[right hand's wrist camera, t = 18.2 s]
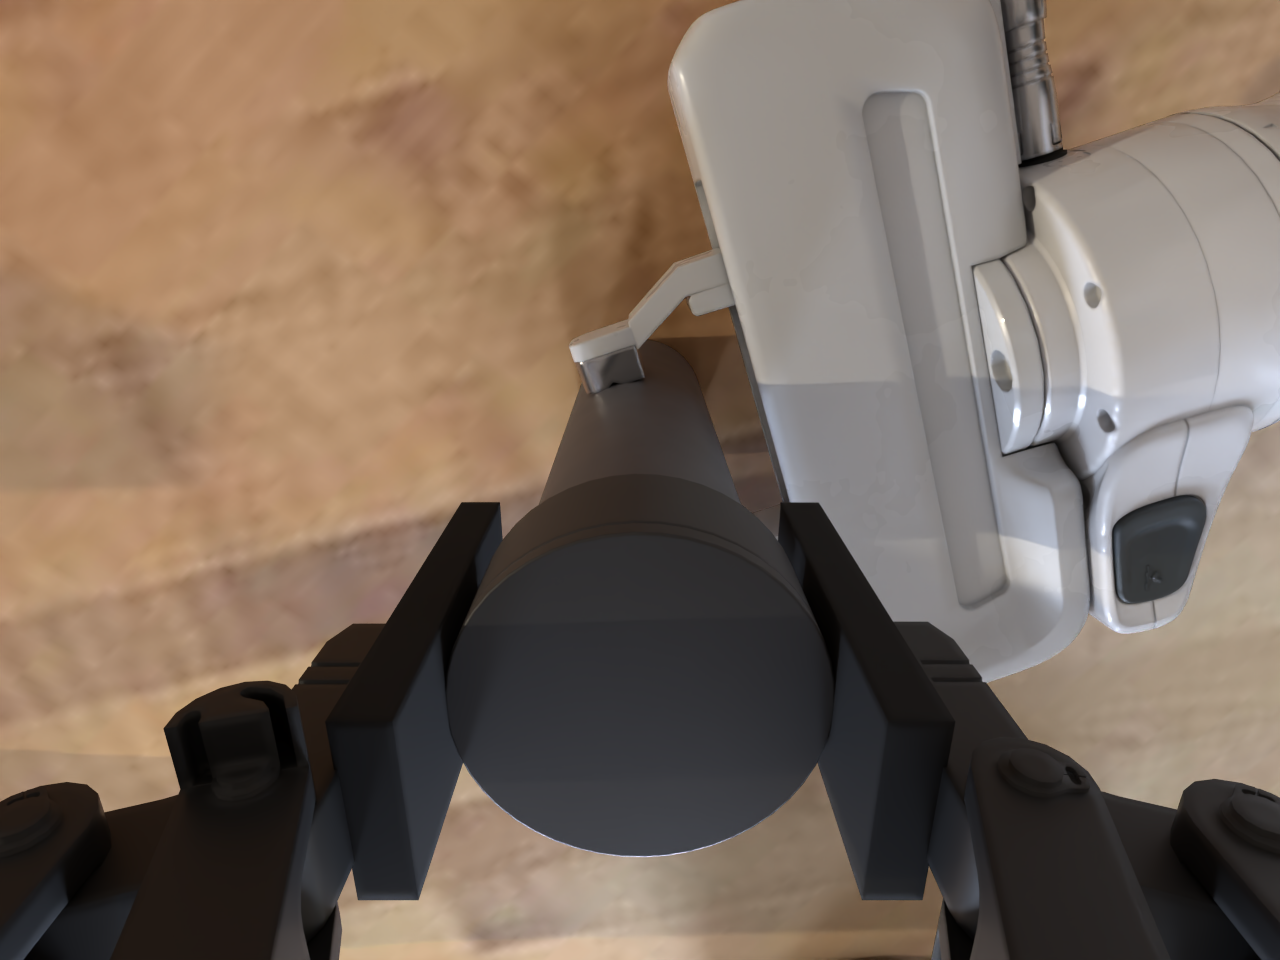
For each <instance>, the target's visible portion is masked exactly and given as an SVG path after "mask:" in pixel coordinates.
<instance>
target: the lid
mask: <svg viewBox="0 0 1280 960" xmlns="http://www.w3.org/2000/svg"><path fill="white" fill-rule="evenodd" d="M445 691H446V701H447V710H448V719H449V727H450V732H451V736H452V739H453V741H454V744H455V746H456V749H457V751H458V754H459V756H460V758H461V759H462V761H463V763H464V765H465V766H466V768H467V770H468V772H469V773H470V775H471V776H472V777H473V779H474V780H475V781H476V783H477V784H478V785H479V786H480V788H481V789H482V790H483V791H484V792H485V793H486V794H487V795H488V796H489V797H490V798H491V799H492V800H493V801H494V802H495V803H496V804H497V805H498V806H499V807H500V808H501V809H503V810H504V811H505V812H506V813H508V814H509V815H510V816H512V817H513V818H514V819H515V820H517V821H519V822H520V823H522V824H524V825H525V826H527V827H528V828H530V829H532V830H533V831H535V832H537V833H539V834H542V835H544V836H546V837H548V838H550V839H552V840H554V841H557V842H560V843H563V844H566V845H569V846H572V847H575V848H578V849H582V850H587V851H591V852H595V853H600V854H608V855H616V856H628V857H652V856H666V855H673V854H679V853H685V852H690V851H694V850H698V849H701V848H705V847H709V846H712V845H715V844H718V843H720V842H723V841H725V840H728V839H730V838H733V837H735V836H737V835H739V834H741V833H743V832H745V831H746V830H748V829H750V828H752V827H754V826H756V825H757V824H759V823H760V822H761V821H763V820H764V819H766V818H767V817H769V816H770V815H772V814H773V813H774V812H775V811H777V810H778V809H779V808H780V807H781V806H782V805H783V804H785V803H786V802H787V801H788V800H789V799H790V798H791V797H792V796H793V795H794V794H795V792H796V791H797V790H798V789H799V788H800V787H801V786H802V785H803V783H804V782H805V781H806V779H807V778H808V776H809V775H810V773H811V772H812V770H813V769H814V767H815V766H816V764H817V762H818V760H819V758H820V756H821V754H822V752H823V749H824V747H825V745H826V742H827V739H828V735H829V732H830V729H831V723H832V714H833V706H834V696H835V680H834V674H833V668H832V661H831V658H830V655H829V652H828V649H827V646H826V643H825V640H824V638H823V636H822V633H821V631H820V629H819V627H818V624H817V622H816V619H815V617H814V615H813V613H812V610H811V608H810V606H809V603H808V601H807V599H806V596H805V594H804V592H803V589H802V587H801V585H800V583H799V580H798V578H797V576H796V573H795V571H794V569H793V566H792V565H791V563H790V561H789V559H788V557H787V555H786V553H785V551H784V549H783V547H782V546H781V545H780V543H779V542H778V540H777V539H776V538H775V536H774V535H773V533H772V532H771V531H770V530H769V529H768V528H767V527H766V526H765V525H764V524H763V523H762V522H761V521H760V520H759V519H758V517H756V516H755V515H754V514H752V513H751V512H750V511H749V510H747V509H746V508H745V507H744V506H742V505H741V504H740V503H738V502H736V501H735V500H733V499H731V498H729V497H728V496H726V495H724V494H723V493H721V492H718V491H716V490H714V489H711V488H709V487H707V486H704V485H702V484H699V483H695V482H692V481H688V480H685V479H682V478H676V477H670V476H664V475H656V474H627V475H616V476H609V477H604V478H600V479H595V480H591V481H587V482H585V483H582V484H579V485H576V486H573V487H571V488H568V489H566V490H564V491H562V492H560V493H558V494H556V495H554V496H552V497H550V498H548V499H547V500H545V501H544V502H543V503H541V504H540V505H538V506H537V507H535V508H534V509H532V510H531V511H530V512H529V513H528V514H527V515H525V516H524V517H523V518H522V519H521V520H520V521H519V522H518V523H517V524H516V525H515V526H514V527H513V528H512V529H511V531H510V532H509V533H508V534H507V535H506V537H505V538H504V539H503V540H502V542H501V543H500V545H499V547H498V548H497V550H496V552H495V553H494V555H493V556H492V558H491V561H490V563H489V565H488V568H487V570H486V572H485V575H484V577H483V579H482V581H481V584H480V586H479V588H478V591H477V593H476V595H475V598H474V600H473V602H472V604H471V607H470V609H469V611H468V614H467V616H466V618H465V620H464V623H463V625H462V627H461V630H460V632H459V634H458V637H457V639H456V641H455V644H454V646H453V648H452V652H451V656H450V660H449V664H448V667H447V672H446V684H445Z"/></svg>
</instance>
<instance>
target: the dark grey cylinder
mask: <svg viewBox="0 0 1280 960" xmlns="http://www.w3.org/2000/svg"><path fill="white" fill-rule="evenodd" d="M639 349H640V352H641V355H642V359H643V362H644V366H645V370H644V371H645V377H644V378H641V379H638V380H635V381H632V382H629V383H624V384H619V383H615V382H613V383H612V384H611V385H610V387H609V388H607V389H605V390H603V391H601V392H598V393H593V394H587V393H586V391H585V388H584V386H583V383H582V384H581V386H580V389H579V392H578V395H577V398H576V401H575V403H574V406H573V409H572V412H571V415H570V418H569V421H568V423H567V426H566V429H565V432H564V435H563V438H562V440H561V443H560V446H559V449H558V452H557V455H556V457H555V460H554V463H553V466H552V469H551V472H550V474H549V477H548V480H547V483H546V486H545V489H544V491H543V494H542V497H541V500H540V503H539V505H540V504H541V503H543V502H544V501H545V500H547V499H548V498H550V497H552V496H554V495H556V494H558V493H560V492H562V491H564V490H566V489H568V488H571V487H573V486H576V485H579V484H582V483H585V482H587V481H591V480H595V479H600V478H604V477H609V476H616V475H627V474H656V475H664V476H670V477H676V478H682V479H685V480H688V481H692V482H695V483H699V484H702V485H704V486H707V487H709V488H711V489H714V490H716V491H718V492H721V493H723V494H724V495H726V496H728V497H729V498H731V499H733V500H735V501H736V502H738V503H740V500H739V498H738V495H737V492H736V489H735V486H734V483H733V480H732V477H731V475H730V472H729V469H728V466H727V463H726V460H725V457H724V455H723V452H722V449H721V446H720V443H719V440H718V437H717V435H716V432H715V429H714V426H713V423H712V420H711V417H710V415H709V412H708V409H707V406H706V403H705V400H704V397H703V395H702V392H701V389H700V386H699V383H698V380H697V377H696V375H695V373H694V371H693V369H692V368H691V366H690V365H689V363H688V362H687V361H686V360H685V359H684V357H683V356H681V355H680V354H679V353H678V352H677V351H675V350H674V349H672V348H671V347H669V346H667V345H664V344H662V343H659V342H656V341H651V340H646V341H645V342H644V343H643V344H642V346H641V347H640V348H639ZM740 504H741V503H740Z"/></svg>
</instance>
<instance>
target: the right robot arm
mask: <svg viewBox="0 0 1280 960" xmlns="http://www.w3.org/2000/svg"><path fill="white" fill-rule="evenodd" d="M502 540H503V539H502V526H501V512H500V502H462V503H461V504H460V506H459V507H458V509H457V511H456V512H455V514H454V515H453V517H452V519H451V520H450V522H449V523H448V525H447V527H446V528H445V530H444V531H443V533H442V535H441V536H440V538H439V539H438V541H437V543H436V544H435V546H434V548H433V549H432V551H431V552H430V554H429V556H428V557H427V559H426V560H425V562H424V564H423V565H422V567H421V568H420V570H419V572H418V573H417V575H416V576H415V578H414V580H413V581H412V583H411V584H410V586H409V588H408V589H407V591H406V592H405V594H404V596H403V597H402V599H401V600H400V602H399V604H398V605H397V607H396V608H395V610H394V612H393V613H392V615H391V616H390V618H389V620H388V621H387V623H386V624H352V625H351V626H349V627H348V628H346V629H345V630H343V631H342V632H340V633H339V634H337V635H336V636H335V637H333V638H332V639H330V640H329V641H327V642H326V644H325V645H324V646H323V648H322V649H321V650H320V652H319V653H318V655H317V656H316V657H315V659H314V660H313V661H312V665H311V667H308V668H307V670H306V671H305V672H304V674H303V675H302V676H301V678H300V679H299V684H295V686H294V687H293V689H292V690H291V689H290V688H289V687H288V686H286V685H284V684H280V683H276V682H271V681H253V682H243V683H239V684H235V685H231V686H227V687H223V688H219V689H217V690H215V691H213V692H210V693H208V694H206V695H204V696H201V697H199V698H197V699H195V700H194V701H192V702H191V703H189V704H188V705H187V706H185V707H184V708H182V709H181V710H180V711H178V712H177V713H176V714H175V715H174V716H173V717H172V719H171V720H170V721H169V722H168V724H167V725H166V726H165V727H164V732H165V735H166V739H167V743H168V746H169V750H170V753H171V757H172V760H173V764H174V768H175V771H176V775H177V778H178V782H179V785H180V789H181V790H180V792H179V795H176V796H172V797H169V798H165V799H162V800H157V801H153V802H149V803H144V804H140V805H135V806H131V807H127V808H122V809H118V810H113V811H109V812H105V813H104V810H103V807H102V804H101V801H100V798H99V795H98V793H97V792H95V791H94V790H93V789H92V788H90V787H89V786H88V785H86V784H78V783H70V782H64V783H57V784H51V785H44V786H39V787H36V788H33V789H30V790H27V791H25V792H21V793H18V794H16V795H13V796H10V797H9V798H7V799H5V800H3V801H1V802H0V960H339V953H340V944H341V934H342V926H341V919H340V912H339V907H338V902H337V900H338V898H339V896H340V894H341V891H342V889H343V887H344V885H345V882H346V880H347V878H348V875H349V873H350V871H351V869H352V870H353V875H354V881H355V886H356V892H357V897H358V900H419V897H420V894H421V891H422V887H423V884H424V881H425V878H426V875H427V872H428V869H429V866H430V863H431V860H432V857H433V853H434V850H435V847H436V844H437V841H438V838H439V835H440V832H441V829H442V826H443V823H444V820H445V816H446V813H447V810H448V807H449V804H450V801H451V798H452V795H453V792H454V789H455V786H456V783H457V779H458V776H459V773H460V770H461V767H462V764H463V761H462V759H461V758H460V756H459V754H458V751H457V749H456V746H455V744H454V741H453V739H452V736H451V732H450V727H449V719H448V710H447V701H446V691H445V684H446V672H447V667H448V664H449V660H450V656H451V652H452V648H453V646H454V644H455V641H456V639H457V637H458V634H459V632H460V630H461V627H462V625H463V623H464V620H465V618H466V616H467V614H468V611H469V609H470V607H471V604H472V602H473V600H474V598H475V595H476V593H477V591H478V588H479V586H480V584H481V581H482V579H483V577H484V575H485V572H486V570H487V568H488V565H489V563H490V561H491V558H492V556H493V555H494V553H495V552H496V550H497V548H498V547H499V545H500V543H501V542H502ZM778 542H779V543H780V545H781V546H782V547H783V549H784V551H785V553H786V555H787V557H788V559H789V561H790V563H791V565H792V566H793V569H794V571H795V573H796V576H797V578H798V580H799V583H800V585H801V587H802V589H803V592H804V594H805V596H806V599H807V601H808V603H809V606H810V608H811V610H812V613H813V615H814V617H815V619H816V622H817V624H818V627H819V629H820V631H821V633H822V636H823V638H824V640H825V643H826V646H827V649H828V652H829V655H830V658H831V661H832V668H833V674H834V680H835V696H834V706H833V714H832V723H831V729H830V732H829V735H828V739H827V742H826V745H825V747H824V749H823V752H822V754H821V756H820V758H819V760H818V762H817V763H818V766H819V769H820V772H821V775H822V778H823V781H824V784H825V787H826V790H827V794H828V797H829V800H830V803H831V806H832V809H833V812H834V815H835V818H836V821H837V824H838V827H839V831H840V834H841V837H842V840H843V843H844V846H845V849H846V852H847V855H848V858H849V861H850V864H851V868H852V871H853V874H854V877H855V880H856V883H857V886H858V889H859V892H860V895H861V898H862V900H922V899H923V894H924V889H925V883H926V878H927V872H928V867H929V866H930V869H931V871H932V873H933V875H934V878H935V880H936V882H937V884H938V887H939V889H940V891H941V893H942V896H943V902H942V907H941V912H940V917H939V922H938V927H937V932H936V937H935V942H934V947H933V952H932V957H931V960H1280V798H1279V797H1277V796H1275V795H1273V794H1271V793H1269V792H1266V791H1264V790H1261V789H1257V788H1255V787H1252V786H1248V785H1245V784H1243V783H1237V782H1231V781H1224V780H1218V779H1211V780H1204V781H1196V782H1194V783H1192V784H1191V785H1190V786H1189V787H1188V788H1186V789H1185V790H1184V791H1183V794H1182V797H1181V800H1180V803H1179V806H1178V809H1177V810H1176V809H1172V808H1167V807H1163V806H1159V805H1154V804H1150V803H1145V802H1141V801H1136V800H1132V799H1128V798H1123V797H1119V796H1115V795H1112V794H1109V793H1105V792H1102V791H1100V788H1099V787H1098V786H1097V784H1096V783H1095V781H1094V780H1093V778H1092V777H1091V775H1090V774H1089V772H1088V771H1086V770H1085V769H1084V768H1083V767H1081V766H1080V765H1079V764H1078V763H1077V762H1075V761H1074V760H1073V759H1072V758H1070V757H1069V756H1067V755H1065V754H1063V753H1061V752H1059V751H1057V750H1055V749H1053V748H1051V747H1049V746H1047V745H1045V744H1041V743H1038V742H1034V741H1030V740H1028V739H1027V737H1026V736H1025V735H1024V733H1023V732H1022V731H1021V729H1020V728H1019V727H1018V725H1017V724H1016V723H1015V721H1014V720H1013V718H1012V717H1011V716H1010V714H1009V713H1008V712H1007V710H1006V709H1005V708H1004V706H1003V705H1002V704H1001V702H1000V701H999V700H998V698H997V697H996V696H995V694H994V693H993V691H992V690H991V689H990V687H989V686H988V685H987V683H986V682H983V681H982V677H981V675H980V674H979V673H978V671H977V670H976V669H975V667H974V666H973V664H970V663H969V659H968V658H967V656H966V655H965V654H964V652H963V651H962V650H961V648H960V647H959V646H958V644H957V643H956V642H955V640H954V639H953V638H951V637H950V636H948V635H947V634H945V633H944V632H942V631H941V630H939V629H938V628H937V627H935V626H934V625H932V624H931V623H929V622H893V621H892V619H891V617H890V616H889V614H888V613H887V611H886V609H885V608H884V606H883V604H882V603H881V601H880V600H879V598H878V596H877V595H876V593H875V592H874V590H873V588H872V587H871V585H870V584H869V582H868V580H867V579H866V577H865V576H864V574H863V572H862V571H861V569H860V568H859V566H858V564H857V563H856V561H855V560H854V558H853V556H852V555H851V553H850V552H849V550H848V548H847V547H846V545H845V544H844V542H843V540H842V539H841V537H840V536H839V534H838V532H837V531H836V529H835V528H834V526H833V524H832V523H831V521H830V520H829V518H828V516H827V515H826V513H825V512H824V510H823V508H822V507H821V505H820V503H819V502H781V504H780V518H779V532H778Z"/></svg>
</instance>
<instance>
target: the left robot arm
mask: <svg viewBox="0 0 1280 960" xmlns="http://www.w3.org/2000/svg"><path fill="white" fill-rule="evenodd" d="M1044 18H1046V0H740V1H737V2H733V3H730V4H728V5H725V6H722V7H719V8H716V9H714V10H711V11H709V12H707V13H705V14H703V15H701V16H700V17H699V18H697V19H696V20H695V21H694V22H693V23H692V24H691V26H690V27H689V29H688V30H687V32H686V33H685V35H684V37H683V38H682V40H681V42H680V44H679V46H678V48H677V50H676V52H675V54H674V57H673V59H672V62H671V64H670V68H669V71H668V82H667V83H668V91H669V95H670V99H671V103H672V106H673V110H674V114H675V117H676V121H677V124H678V128H679V132H680V135H681V139H682V142H683V146H684V150H685V153H686V157H687V160H688V164H689V167H690V171H691V175H692V178H693V182H694V185H695V189H696V193H697V196H698V200H699V203H700V207H701V211H702V214H703V218H704V221H705V225H706V228H707V232H708V236H709V239H710V243H711V246H712V250H709V251H706V252H703V253H701V254H698V255H695V256H692V257H689V258H686V259H683V260H680V261H678V262H675V263H673V264H672V265H671V267H670V268H669V269H668V270H667V271H666V272H665V273H664V275H663V276H662V277H661V278H660V279H659V280H658V281H657V283H656V284H655V285H654V286H653V287H652V288H651V290H650V291H649V292H648V293H647V294H646V295H645V296H644V298H643V299H642V300H641V301H640V302H639V303H638V304H637V306H636V307H635V308H634V309H633V310H632V311H631V312H630V314H629V319H627V320H624V321H621V322H618V323H615V324H612V325H609V326H606V327H603V328H600V329H597V330H594V331H591V332H588V333H585V334H583V335H581V336H579V337H576V338H574V339H572V341H571V342H570V344H569V348H570V351H571V354H572V357H573V360H574V362H575V365H576V367H577V370H578V373H579V375H580V378H581V380H582V383H583V386H584V388H585V391H586V393H587V394H593V393H598V392H601V391H603V390H605V389H607V388H609V387H610V385H611V384H612V383H613V382H615V383H619V384H624V383H629V382H632V381H635V380H638V379H641V378H644V377H645V371H644V370H645V366H644V362H643V359H642V355H641V352H640V349H639V348H640V347H641V346H642V344H643V343H644V342H645V341H646V340H647V339H648V338H649V337H650V336H651V335H652V333H653V332H654V331H655V330H656V329H657V328H658V327H659V326H660V325H661V324H662V322H663V321H664V320H665V319H666V318H667V317H668V316H669V315H670V314H671V313H672V312H673V310H674V309H675V308H676V307H677V306H678V305H679V304H680V303H681V302H682V301H683V299H684V298H686V301H687V305H688V306H689V308H690V310H691V312H692V314H694V315H696V316H700V315H704V314H707V313H710V312H713V311H716V310H720V309H723V308H726V307H729V311H730V315H731V318H732V322H733V325H734V329H735V333H736V336H737V340H738V343H739V347H740V350H741V354H742V358H743V361H744V365H745V368H746V372H747V376H748V379H749V383H750V386H751V390H752V394H753V397H754V401H755V404H756V408H757V411H758V415H759V419H760V422H761V426H762V429H763V433H764V437H765V440H766V444H767V447H768V451H769V455H770V458H771V462H772V465H773V469H774V472H775V476H776V480H777V483H778V487H779V490H780V494H781V498H782V501H783V502H819V503H820V505H821V507H822V508H823V510H824V512H825V513H826V515H827V516H828V518H829V520H830V521H831V523H832V524H833V526H834V528H835V529H836V531H837V532H838V534H839V536H840V537H841V539H842V540H843V542H844V544H845V545H846V547H847V548H848V550H849V552H850V553H851V555H852V556H853V558H854V560H855V561H856V563H857V564H858V566H859V568H860V569H861V571H862V572H863V574H864V576H865V577H866V579H867V580H868V582H869V584H870V585H871V587H872V588H873V590H874V592H875V593H876V595H877V596H878V598H879V600H880V601H881V603H882V604H883V606H884V608H885V609H886V611H887V613H888V614H889V616H890V617H891V619H892V621H893V622H929V623H931V624H932V625H934V626H935V627H937V628H938V629H939V630H941V631H942V632H944V633H945V634H947V635H948V636H950V637H951V638H953V639H954V640H955V642H956V643H957V644H958V646H959V647H960V648H961V650H962V651H963V652H964V654H965V655H966V656H967V658H968V659H969V663H970V664H973V666H974V667H975V669H976V670H977V671H978V673H979V674H980V675H981V677H982V681H983V682H986V683H988V682H991V681H994V680H997V679H1000V678H1003V677H1006V676H1009V675H1012V674H1015V673H1018V672H1020V671H1023V670H1026V669H1028V668H1031V667H1033V666H1036V665H1038V664H1040V663H1042V662H1044V661H1046V660H1048V659H1050V658H1051V657H1053V656H1055V655H1056V654H1058V653H1059V652H1061V651H1062V650H1063V649H1065V648H1066V647H1067V646H1068V645H1069V644H1070V643H1071V642H1072V641H1073V640H1074V639H1075V638H1076V637H1077V635H1078V634H1079V633H1080V631H1081V630H1082V628H1083V626H1084V624H1085V622H1086V619H1087V616H1088V613H1089V614H1090V615H1092V616H1093V617H1095V618H1096V619H1097V620H1099V621H1100V622H1102V623H1103V624H1104V625H1106V626H1107V627H1109V628H1110V629H1112V630H1113V631H1115V632H1118V633H1124V634H1129V633H1137V632H1143V631H1147V630H1151V629H1154V628H1158V627H1160V626H1163V625H1165V624H1167V623H1169V622H1171V621H1173V620H1174V619H1175V618H1176V617H1177V616H1178V615H1179V614H1180V613H1181V612H1182V610H1183V608H1184V607H1185V605H1186V603H1187V600H1188V598H1189V595H1190V591H1191V588H1192V585H1193V582H1194V578H1195V575H1196V571H1197V568H1198V565H1199V561H1200V558H1201V555H1202V552H1203V548H1204V545H1205V542H1206V539H1207V536H1208V533H1209V531H1210V528H1211V525H1212V522H1213V519H1214V517H1215V514H1216V511H1217V509H1218V506H1219V503H1220V501H1221V499H1222V496H1223V494H1224V492H1225V489H1226V487H1227V485H1228V483H1229V480H1230V478H1231V476H1232V474H1233V472H1234V470H1235V468H1236V466H1237V464H1238V462H1239V461H1240V459H1241V457H1242V455H1243V453H1244V451H1245V449H1246V446H1247V444H1248V442H1249V439H1250V435H1251V432H1254V431H1257V430H1260V429H1263V428H1266V427H1268V426H1270V425H1272V424H1274V423H1276V422H1278V421H1280V91H1279V92H1278V93H1276V94H1275V95H1273V96H1271V97H1270V98H1268V99H1265V100H1263V101H1261V102H1258V103H1254V104H1249V105H1241V106H1214V107H1205V108H1199V109H1193V110H1189V111H1184V112H1180V113H1176V114H1173V115H1170V116H1168V117H1165V118H1162V119H1158V120H1155V121H1152V122H1149V123H1146V124H1143V125H1141V126H1138V127H1135V128H1132V129H1129V130H1126V131H1123V132H1120V133H1117V134H1114V135H1111V136H1108V137H1105V138H1102V139H1099V140H1096V141H1093V142H1090V143H1087V144H1084V145H1081V146H1078V147H1075V148H1072V149H1069V150H1063V145H1062V135H1061V127H1060V119H1059V110H1058V101H1057V93H1056V87H1055V82H1054V76H1051V73H1052V69H1051V65H1049V64H1048V62H1049V57H1048V53H1046V50H1047V46H1046V42H1045V41H1044V39H1045V29H1044ZM753 514H754V515H755V516H756V517H758V519H759V520H760V521H761V522H762V523H763V524H764V525H765V526H766V527H767V528H768V529H769V530H770V531H771V532H772V533H773V535H774V536H775V538H776V539H777V540H778V532H779V518H780V505H777V506H773V507H770V508H767V509H764V510H761V511H757V512H754V513H753Z"/></svg>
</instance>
